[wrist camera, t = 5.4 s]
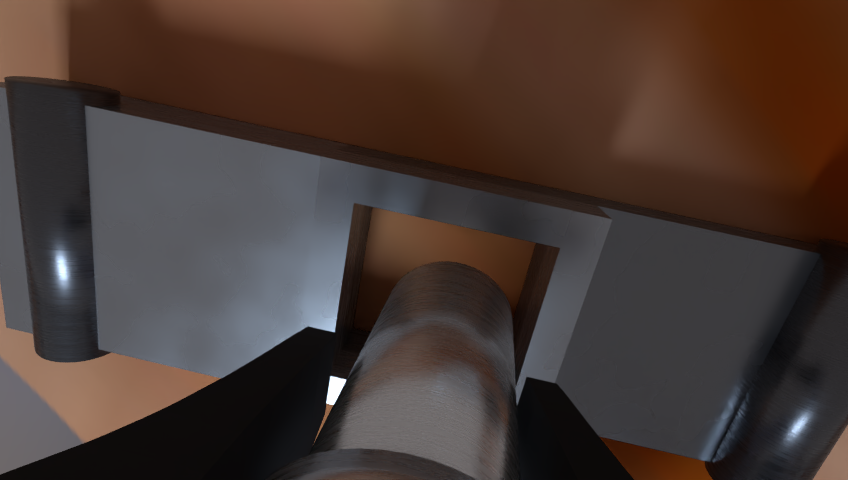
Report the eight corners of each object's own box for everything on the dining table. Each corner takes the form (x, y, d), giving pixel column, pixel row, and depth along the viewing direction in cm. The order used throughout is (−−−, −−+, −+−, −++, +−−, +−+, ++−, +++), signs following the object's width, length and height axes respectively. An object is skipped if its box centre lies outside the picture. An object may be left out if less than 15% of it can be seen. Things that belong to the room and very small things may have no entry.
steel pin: (500, 403, 12) (502, 804, 5) (358, 359, 12) (192, 689, 6) (552, 273, 10) (641, 606, 4) (388, 226, 11) (210, 463, 4)
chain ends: (776, 458, 16) (855, 552, 12) (81, 297, 17) (-12, 345, 13) (898, 251, 13) (1038, 303, 10) (67, 74, 14) (-55, 67, 11)
